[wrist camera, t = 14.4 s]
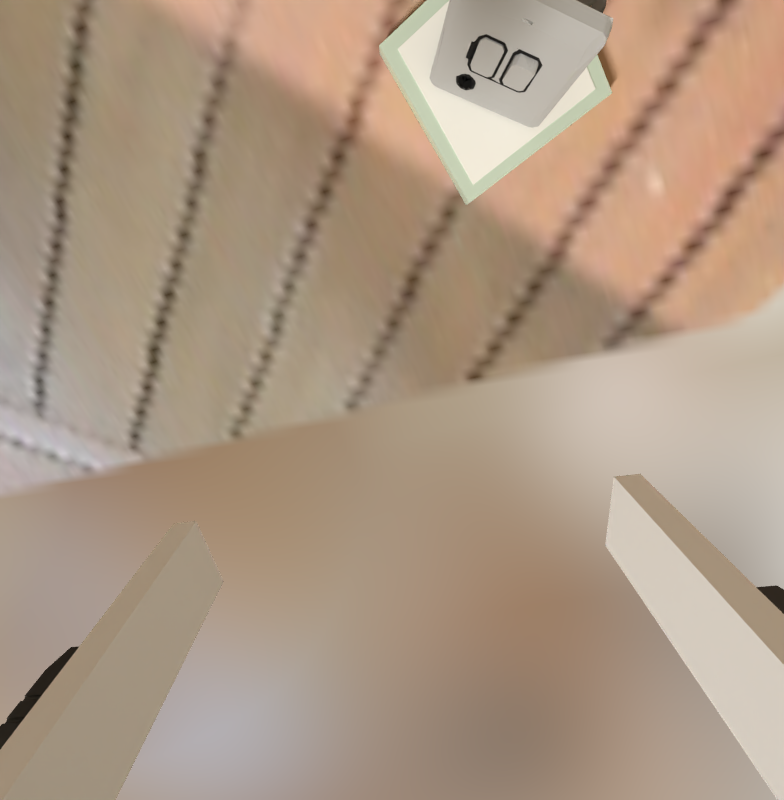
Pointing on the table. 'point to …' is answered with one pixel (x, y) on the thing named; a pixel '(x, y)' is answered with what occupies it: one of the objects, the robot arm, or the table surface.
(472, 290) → the table surface
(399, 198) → the table surface
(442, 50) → the electrical switch
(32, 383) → the table surface
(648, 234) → the table surface
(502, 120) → the board
